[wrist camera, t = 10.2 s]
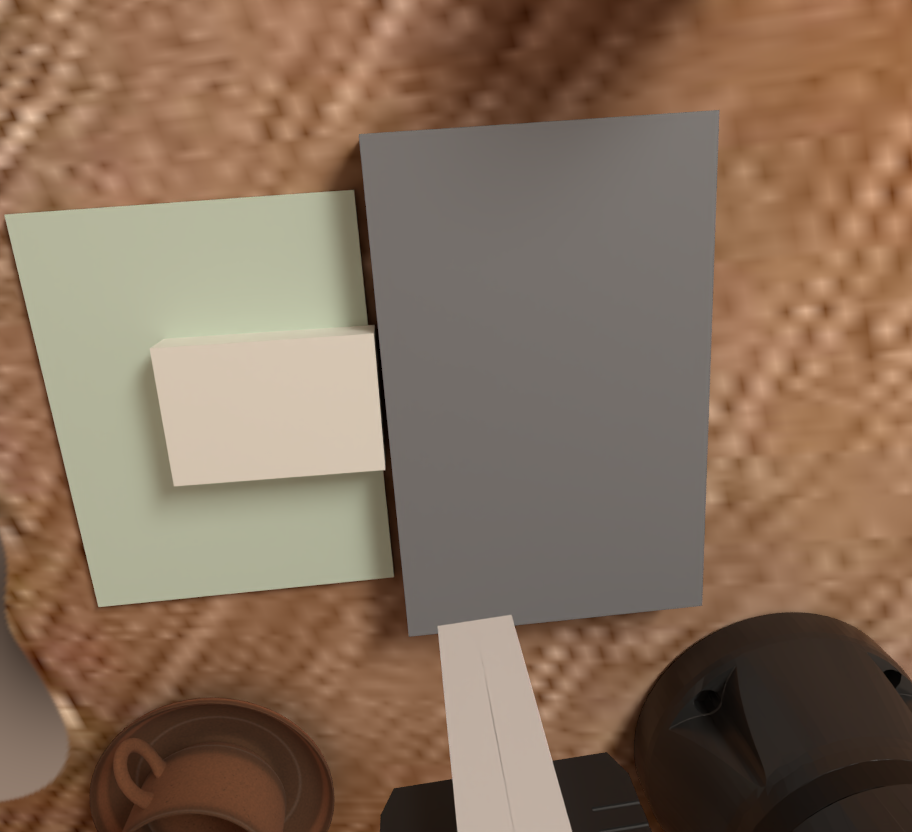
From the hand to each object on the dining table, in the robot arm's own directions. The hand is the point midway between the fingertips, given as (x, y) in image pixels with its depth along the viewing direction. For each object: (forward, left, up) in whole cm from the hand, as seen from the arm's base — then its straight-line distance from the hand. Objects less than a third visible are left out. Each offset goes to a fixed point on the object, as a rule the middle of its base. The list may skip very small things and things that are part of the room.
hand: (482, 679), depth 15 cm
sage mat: (+1, +10, -20) cm, 22 cm away
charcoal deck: (+1, -5, -20) cm, 21 cm away
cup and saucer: (-19, +13, -21) cm, 31 cm away
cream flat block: (+1, +7, -20) cm, 21 cm away
